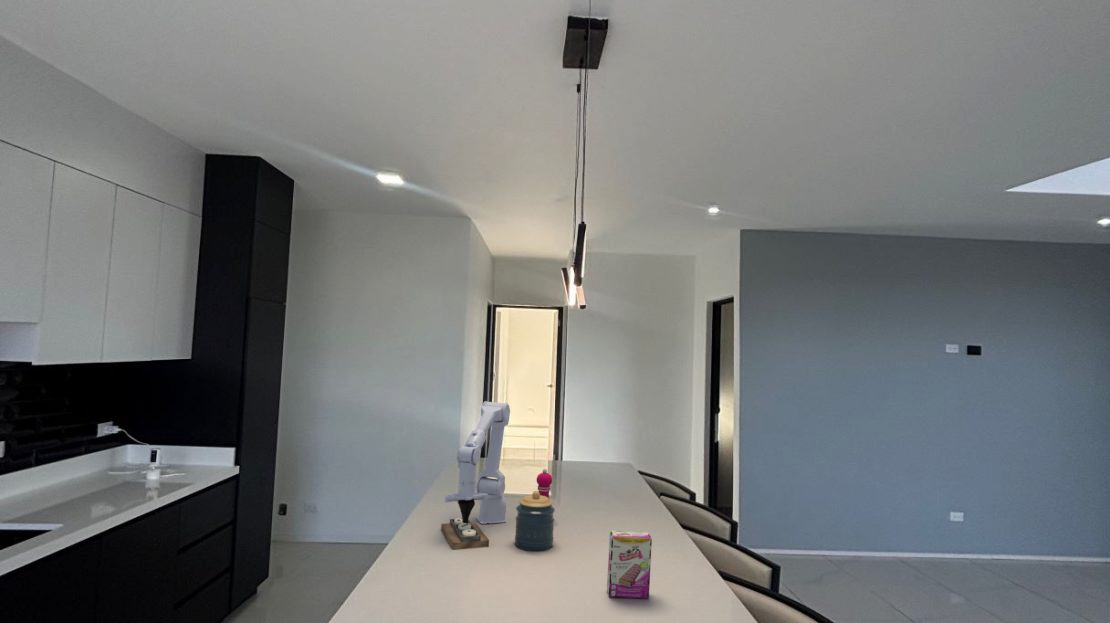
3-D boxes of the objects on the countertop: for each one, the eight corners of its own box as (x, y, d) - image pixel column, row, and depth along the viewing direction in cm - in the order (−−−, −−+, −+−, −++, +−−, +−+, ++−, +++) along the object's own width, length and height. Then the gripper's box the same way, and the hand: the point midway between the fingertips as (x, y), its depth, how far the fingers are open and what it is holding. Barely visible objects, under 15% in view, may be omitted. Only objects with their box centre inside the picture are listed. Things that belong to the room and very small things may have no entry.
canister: (548, 553, 184) (551, 498, 185) (509, 548, 186) (512, 494, 187) (556, 540, 196) (558, 488, 197) (520, 536, 199) (522, 484, 200)
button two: (465, 522, 204) (465, 516, 204) (467, 526, 200) (468, 520, 200) (452, 523, 202) (453, 517, 202) (455, 527, 198) (455, 521, 198)
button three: (469, 528, 198) (469, 522, 198) (472, 532, 194) (472, 526, 194) (456, 529, 196) (457, 523, 196) (459, 533, 192) (459, 527, 192)
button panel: (474, 527, 206) (474, 517, 206) (488, 546, 188) (489, 535, 188) (441, 529, 202) (441, 519, 202) (452, 549, 183) (453, 538, 183)
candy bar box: (608, 598, 153) (611, 536, 154) (606, 590, 158) (608, 530, 159) (650, 600, 153) (652, 537, 154) (646, 591, 158) (648, 531, 159)
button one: (473, 534, 192) (474, 528, 192) (476, 539, 188) (477, 532, 188) (460, 535, 190) (461, 529, 190) (463, 540, 186) (464, 533, 186)
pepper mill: (552, 520, 218) (555, 467, 219) (551, 526, 211) (553, 471, 212) (534, 518, 219) (536, 466, 220) (531, 524, 212) (534, 470, 213)
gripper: (448, 485, 189) (446, 527, 189) (490, 483, 195) (488, 524, 194) (444, 480, 196) (442, 520, 195) (485, 478, 201) (483, 517, 201)
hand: (465, 522), depth 195 cm, fingers closed
